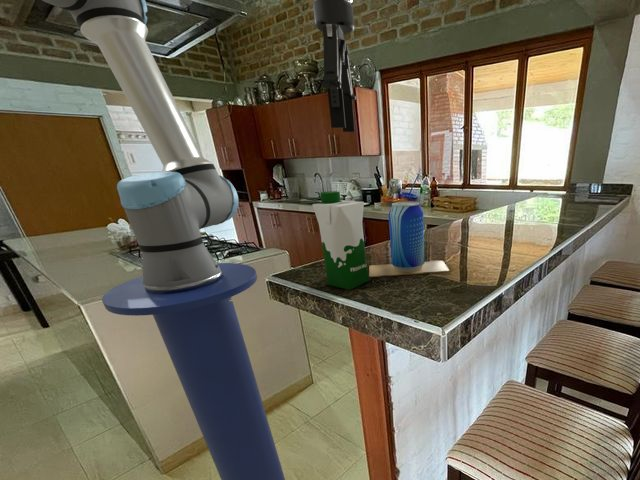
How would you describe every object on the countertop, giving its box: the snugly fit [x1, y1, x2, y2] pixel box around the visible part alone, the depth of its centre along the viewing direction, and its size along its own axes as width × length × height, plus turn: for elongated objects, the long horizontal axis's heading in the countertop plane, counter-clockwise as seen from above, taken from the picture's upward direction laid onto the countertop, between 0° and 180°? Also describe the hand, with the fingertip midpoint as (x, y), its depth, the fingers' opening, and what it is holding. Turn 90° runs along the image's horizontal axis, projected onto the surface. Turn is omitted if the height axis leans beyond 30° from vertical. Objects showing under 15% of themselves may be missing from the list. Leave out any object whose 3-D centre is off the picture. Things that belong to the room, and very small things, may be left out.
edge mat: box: [368, 260, 450, 278], centre depth 87 cm, size 20×9×1 cm, turn 98°
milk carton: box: [312, 190, 370, 290], centre depth 74 cm, size 9×9×20 cm
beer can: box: [388, 201, 425, 272], centre depth 83 cm, size 8×8×16 cm
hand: (344, 130), depth 73 cm, fingers open, 13 cm apart
